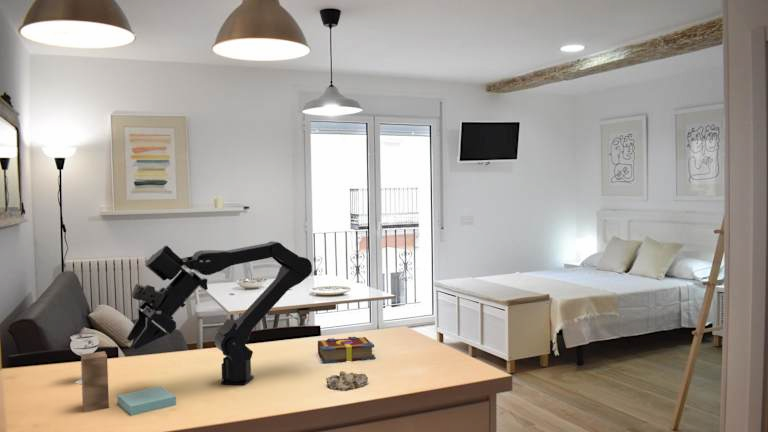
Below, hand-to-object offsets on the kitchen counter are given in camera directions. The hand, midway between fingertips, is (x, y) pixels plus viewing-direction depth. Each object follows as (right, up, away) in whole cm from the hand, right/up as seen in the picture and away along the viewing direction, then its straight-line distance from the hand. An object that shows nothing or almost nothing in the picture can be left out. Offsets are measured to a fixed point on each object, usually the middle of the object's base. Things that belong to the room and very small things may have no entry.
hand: (131, 343), depth 143 cm
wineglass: (-18, -13, +16) cm, 27 cm away
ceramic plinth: (+5, -14, -3) cm, 15 cm away
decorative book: (+49, -12, +36) cm, 62 cm away
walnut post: (-7, -14, -4) cm, 16 cm away
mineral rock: (+51, -13, +9) cm, 53 cm away
